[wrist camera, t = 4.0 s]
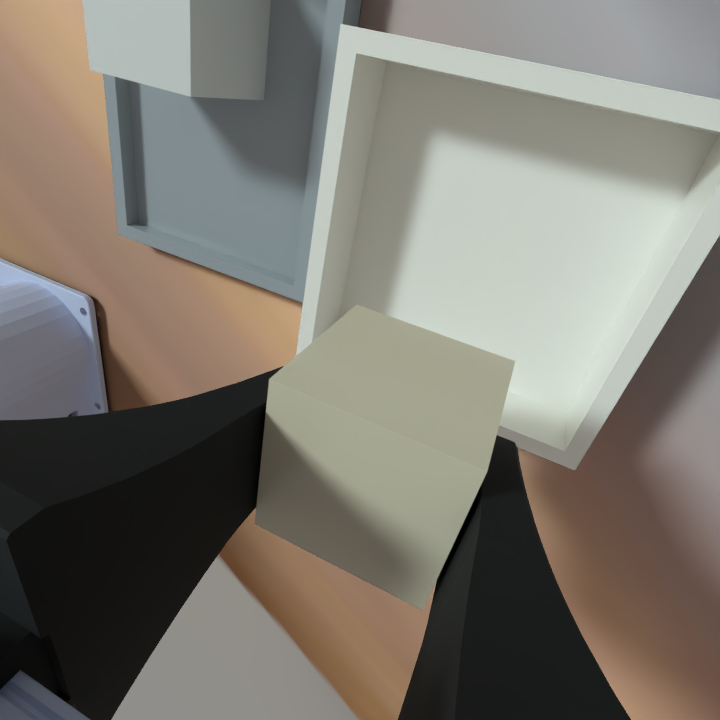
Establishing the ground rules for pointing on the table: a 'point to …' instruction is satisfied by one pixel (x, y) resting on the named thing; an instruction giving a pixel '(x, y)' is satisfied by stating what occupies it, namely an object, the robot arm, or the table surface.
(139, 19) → the light grey cube
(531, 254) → the dish
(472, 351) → the cream cube
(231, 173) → the parts tray
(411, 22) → the table surface
